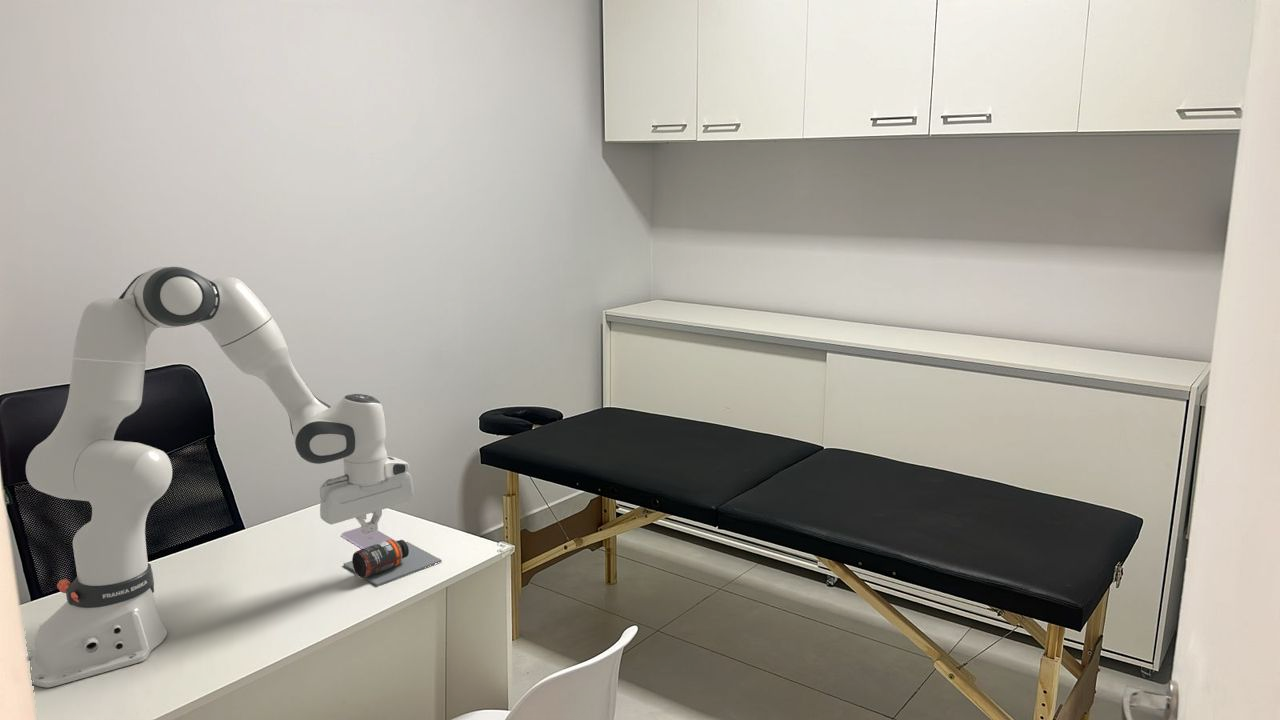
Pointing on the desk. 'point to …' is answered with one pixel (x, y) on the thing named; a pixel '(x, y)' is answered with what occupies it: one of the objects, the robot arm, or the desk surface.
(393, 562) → the supplement bottle
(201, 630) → the desk surface
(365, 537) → the mobile phone
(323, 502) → the robot arm
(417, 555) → the mat
